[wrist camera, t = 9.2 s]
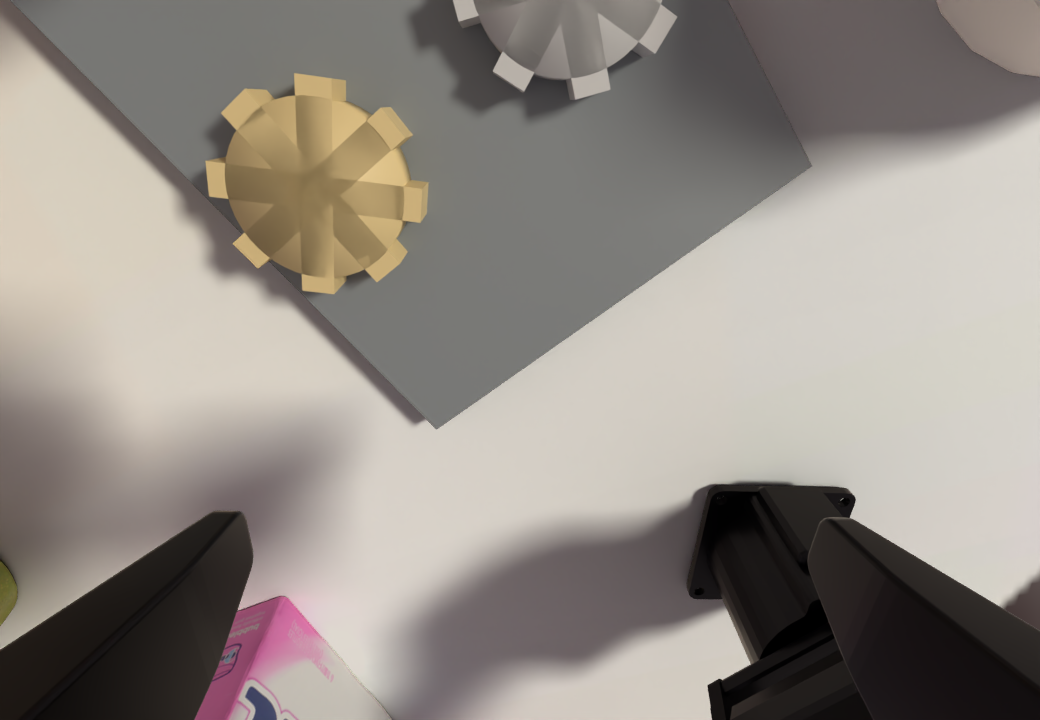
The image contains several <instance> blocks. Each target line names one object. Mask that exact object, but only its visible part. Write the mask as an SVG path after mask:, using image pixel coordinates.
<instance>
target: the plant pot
mask: <svg viewBox="0 0 1040 720" xmlns="http://www.w3.org/2000/svg"><path fill="white" fill-rule="evenodd" d="M17 593H18V592H17V586H16V583H15V581H14V579H13V577H12V575H11V573H10V572H9V570H8V569H7V568H6V566H5V565H4V564H3V563H2V562H1V561H0V626H1V624H2V623H3V622H4V620H5V619H6V618H7V616H8V615H9V614H10V612H11V611H12V609H13V607H14V606H15V604H16V601H17Z"/></svg>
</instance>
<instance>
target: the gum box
mask: <svg viewBox="0 0 1040 720" xmlns="http://www.w3.org/2000/svg"><path fill="white" fill-rule="evenodd" d="M195 720H392V719H391V718H390V716H389V715H388V713H387V712H386V711H385V709H384V708H383V707H382V706H381V705H380V703H379V702H378V701H377V700H376V699H375V698H374V696H373V695H372V694H371V693H370V692H369V691H368V690H367V689H366V688H365V687H364V686H363V685H362V684H361V683H360V681H359V680H358V679H357V678H356V677H355V676H354V675H353V673H352V672H351V671H350V669H349V668H348V667H347V665H346V664H345V663H344V661H343V660H342V659H341V658H340V657H339V656H338V655H337V654H336V652H335V651H334V650H333V649H332V648H331V647H330V645H329V644H328V643H327V642H326V641H325V640H324V639H323V638H322V637H321V636H320V635H319V634H318V633H317V631H316V630H315V629H314V628H313V627H312V626H311V624H310V623H309V622H308V621H307V620H306V619H305V617H304V616H303V615H302V614H301V613H300V612H299V610H298V609H297V608H296V607H295V606H294V605H293V604H292V602H291V601H290V600H289V599H288V598H286V597H282V596H280V597H277V598H275V599H272V600H269V601H266V602H264V603H261V604H258V605H256V606H253V607H250V608H248V609H245V610H241V611H237V613H236V616H235V619H234V622H233V625H232V628H231V631H230V634H229V637H228V640H227V643H226V646H225V649H224V652H223V655H222V657H221V660H220V663H219V666H218V668H217V671H216V673H215V675H214V678H213V680H212V682H211V685H210V687H209V689H208V691H207V693H206V696H205V698H204V700H203V702H202V705H201V707H200V709H199V711H198V713H197V716H196V718H195Z"/></svg>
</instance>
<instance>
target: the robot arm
mask: <svg viewBox="0 0 1040 720" xmlns="http://www.w3.org/2000/svg"><path fill="white" fill-rule="evenodd" d="M719 496H723V497H722V498H720V499H717V498H718V497H719ZM842 498H844V499H842ZM841 499H842V500H841ZM840 500H841V501H840ZM855 500H856V499H855V497H854V495H853V494H852V493H851V492H850V491H849V490H848V489H847V488H839V487H799V486H734V485H719V486H715V487H713V488H711V489H710V490H709V492H708V494H707V499H706V503H705V507H704V512H703V516H702V520H701V525H700V529H699V533H698V538H697V542H696V546H695V551H694V555H693V559H692V564H691V568H690V572H689V577H688V581H687V590H688V593H689V595H690V596H691V597H692V598H694V599H723V601H724V604H725V606H726V608H727V611H728V613H729V615H730V617H731V620H732V622H733V624H734V627H735V629H736V631H737V633H738V636H739V638H740V640H741V643H742V645H743V647H744V650H745V652H746V654H747V656H748V659H749V661H750V663H751V665H749V666H747V667H745V668H744V669H742V670H740V671H738V672H736V673H734V674H733V675H731V676H729V677H727V678H725V679H724V680H721V679H718V680H716V681H714V682H713V683H711V684H709V685H708V692H709V698H710V705H711V715H712V720H1040V631H1039V630H1038V629H1036V628H1035V627H1033V626H1031V625H1030V624H1028V623H1026V622H1025V621H1023V620H1021V619H1019V618H1018V617H1016V616H1014V615H1013V614H1011V613H1009V612H1008V611H1006V610H1004V609H1003V608H1001V607H999V606H998V605H996V604H994V603H993V602H991V601H989V600H988V599H986V598H984V597H983V596H981V595H979V594H978V593H976V592H974V591H973V590H971V589H969V588H968V587H966V586H964V585H962V584H961V583H959V582H957V581H956V580H954V579H952V578H951V577H949V576H947V575H946V574H944V573H942V572H941V571H939V570H937V569H936V568H934V567H932V566H931V565H929V564H927V563H926V562H924V561H922V560H921V559H919V558H917V557H916V556H914V555H912V554H911V553H909V552H907V551H906V550H904V549H902V548H900V547H899V546H897V545H895V544H894V543H892V542H890V541H889V540H887V539H885V538H884V537H882V536H880V535H879V534H877V533H875V532H874V531H872V530H870V529H869V528H867V527H865V526H864V525H862V524H860V523H859V522H857V521H855V520H853V519H851V518H850V515H851V512H852V510H853V507H854V504H855ZM252 563H253V548H252V544H251V539H250V535H249V530H248V525H247V521H246V518H245V515H244V514H243V513H242V512H240V511H214V512H211V513H209V514H208V515H206V516H205V517H203V518H202V519H200V520H198V521H197V522H195V523H194V524H192V525H191V526H189V527H188V528H186V529H185V530H183V531H182V532H180V533H179V534H177V535H175V536H174V537H172V538H171V539H169V540H168V541H166V542H165V543H163V544H162V545H160V546H159V547H157V548H156V549H154V550H152V551H151V552H149V553H148V554H146V555H145V556H143V557H142V558H140V559H139V560H137V561H136V562H134V563H133V564H131V565H130V566H128V567H126V568H125V569H123V570H122V571H120V572H119V573H117V574H116V575H114V576H113V577H111V578H110V579H108V580H107V581H105V582H103V583H102V584H100V585H99V586H97V587H96V588H94V589H93V590H91V591H90V592H88V593H87V594H85V595H84V596H82V597H80V598H79V599H77V600H76V601H74V602H73V603H71V604H70V605H68V606H67V607H65V608H64V609H62V610H61V611H59V612H57V613H56V614H54V615H53V616H51V617H50V618H48V619H47V620H45V621H44V622H42V623H41V624H39V625H38V626H36V627H35V628H33V629H31V630H30V631H28V632H27V633H25V634H24V635H22V636H21V637H19V638H18V639H16V640H15V641H13V642H12V643H10V644H8V645H7V646H5V647H4V648H2V649H1V650H0V720H195V718H196V716H197V713H198V711H199V709H200V707H201V705H202V702H203V700H204V698H205V696H206V693H207V691H208V689H209V687H210V685H211V682H212V680H213V678H214V675H215V673H216V671H217V668H218V666H219V663H220V660H221V657H222V655H223V652H224V649H225V646H226V643H227V640H228V637H229V634H230V631H231V628H232V625H233V622H234V619H235V616H236V613H237V610H238V607H239V604H240V601H241V598H242V595H243V592H244V589H245V586H246V583H247V580H248V577H249V574H250V571H251V568H252ZM697 588H698V589H697Z"/></svg>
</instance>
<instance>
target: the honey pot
mask: <svg viewBox="0 0 1040 720" xmlns="http://www.w3.org/2000/svg"><path fill="white" fill-rule="evenodd" d="M936 2H937V5H938V8H939V10H940V13H941V14H942V15H943V16H944V18H945V19H946V20H947V21H948V22H949V24H950V25H951V26H952V27H953V29H954V30H955V31H956V32H957V33H958V35H959V36H960V37H961V38H962V39H963V41H964V42H965V43H966V44H967V45H968V47H969V48H970V49H971V50H972V51H974V52H976V53H977V54H979V55H981V56H983V57H985V58H986V59H988V60H990V61H992V62H994V63H995V64H997V65H999V66H1001V67H1003V68H1004V69H1006V70H1008V71H1010V72H1012V73H1017V74H1024V75H1030V76H1037V77H1040V0H936Z"/></svg>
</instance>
